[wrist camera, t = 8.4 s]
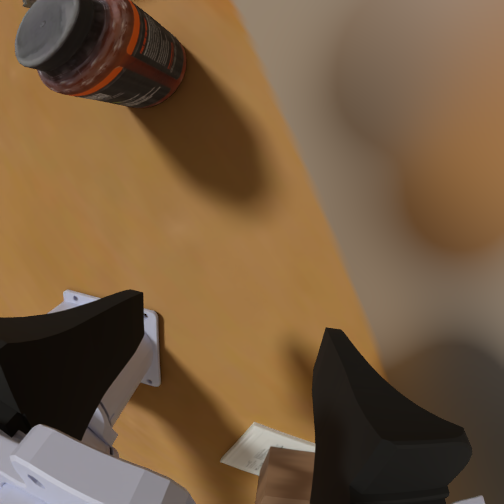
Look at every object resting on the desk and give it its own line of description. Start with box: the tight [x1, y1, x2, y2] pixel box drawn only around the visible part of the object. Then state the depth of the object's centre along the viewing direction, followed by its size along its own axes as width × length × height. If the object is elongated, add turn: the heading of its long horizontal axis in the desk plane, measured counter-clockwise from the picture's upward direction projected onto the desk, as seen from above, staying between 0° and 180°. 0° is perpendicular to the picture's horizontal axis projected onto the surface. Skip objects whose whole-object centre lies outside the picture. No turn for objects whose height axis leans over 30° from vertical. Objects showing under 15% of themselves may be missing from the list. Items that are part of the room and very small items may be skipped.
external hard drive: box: [220, 422, 315, 476], centre depth 28 cm, size 2×8×12 cm
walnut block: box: [255, 446, 315, 504], centre depth 24 cm, size 5×5×6 cm
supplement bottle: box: [15, 0, 186, 108], centre depth 13 cm, size 6×6×11 cm
